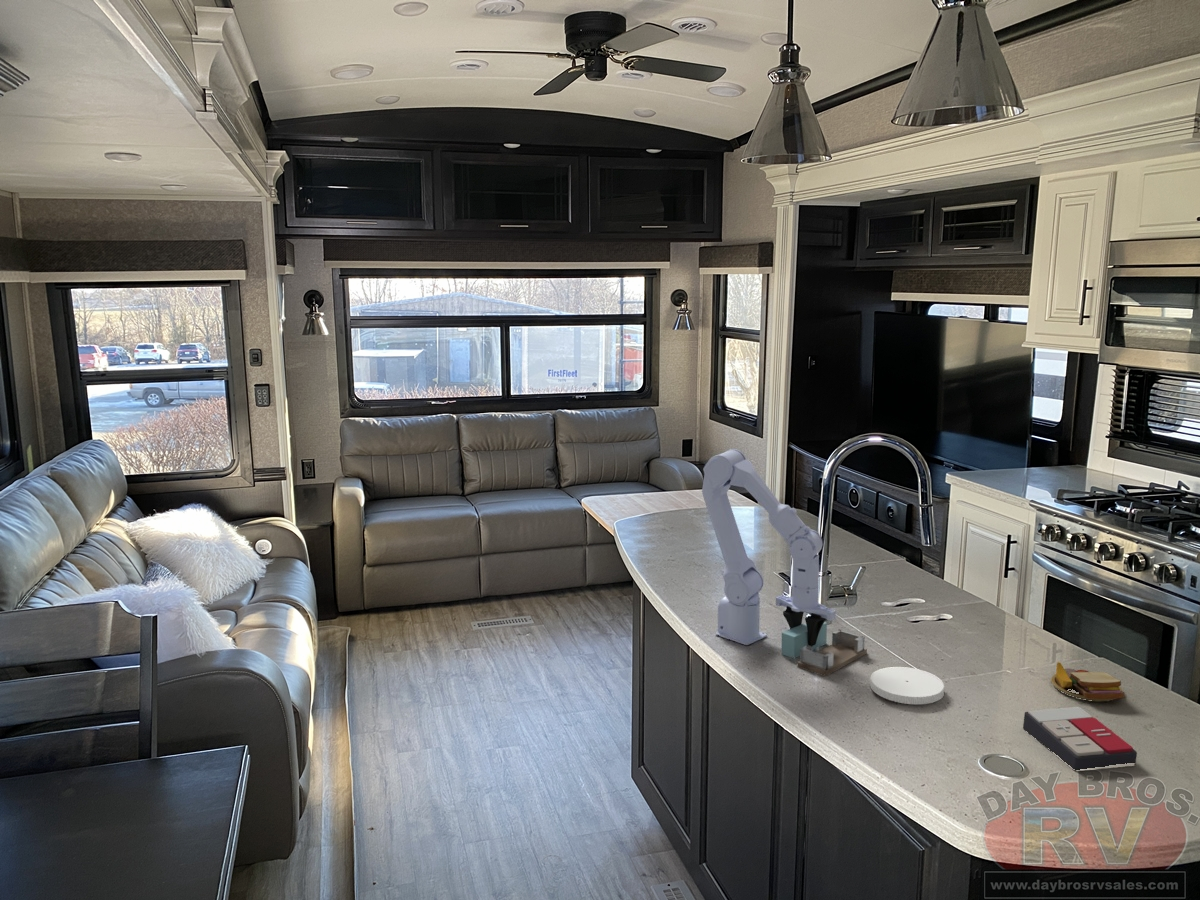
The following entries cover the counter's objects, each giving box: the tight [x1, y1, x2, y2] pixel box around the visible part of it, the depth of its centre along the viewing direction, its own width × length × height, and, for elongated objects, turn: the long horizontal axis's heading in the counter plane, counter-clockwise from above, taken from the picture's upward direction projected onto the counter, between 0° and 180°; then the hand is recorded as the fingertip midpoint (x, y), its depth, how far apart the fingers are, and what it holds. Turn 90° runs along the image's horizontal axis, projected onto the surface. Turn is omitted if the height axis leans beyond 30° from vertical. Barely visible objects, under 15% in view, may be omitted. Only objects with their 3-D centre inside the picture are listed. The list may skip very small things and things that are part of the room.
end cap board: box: [796, 644, 868, 677], centre depth 193 cm, size 7×16×1 cm, turn 133°
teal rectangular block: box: [781, 621, 828, 659], centre depth 199 cm, size 3×12×5 cm, turn 130°
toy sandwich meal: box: [1050, 661, 1125, 702], centre depth 176 cm, size 12×14×5 cm
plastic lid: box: [869, 666, 945, 705], centre depth 177 cm, size 14×14×2 cm
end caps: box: [799, 628, 866, 670], centre depth 193 cm, size 6×15×3 cm, turn 133°
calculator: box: [1022, 706, 1138, 770], centre depth 155 cm, size 11×4×15 cm
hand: (804, 642), depth 199 cm, fingers closed on teal rectangular block, 3 cm apart
